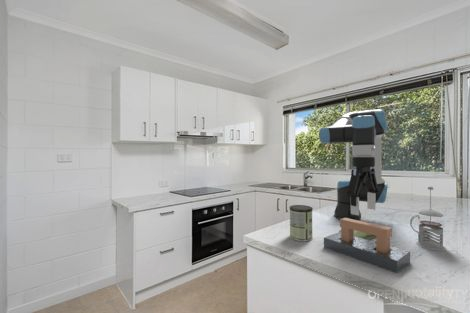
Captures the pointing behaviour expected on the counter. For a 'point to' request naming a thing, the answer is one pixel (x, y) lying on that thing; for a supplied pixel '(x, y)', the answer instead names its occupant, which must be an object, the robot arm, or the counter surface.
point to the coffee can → (301, 222)
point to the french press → (426, 240)
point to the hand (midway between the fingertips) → (363, 211)
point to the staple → (373, 229)
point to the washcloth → (363, 235)
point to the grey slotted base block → (368, 252)
